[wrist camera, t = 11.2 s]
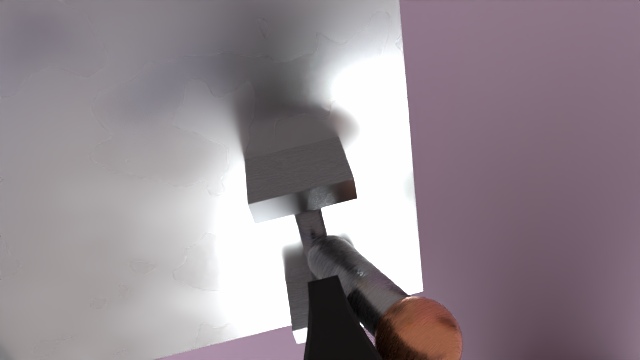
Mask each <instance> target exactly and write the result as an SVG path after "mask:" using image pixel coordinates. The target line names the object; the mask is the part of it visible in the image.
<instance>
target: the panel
mask: <svg viewBox="0 0 640 360" xmlns="http://www.w3.org/2000/svg"><path fill="white" fill-rule="evenodd" d="M320 208H321V210H322V215H323V219H324V223H325V227H326V231H327V235H336V236H339V237H342V238H343V239H345V240H346V241H347V242H348V243H350V244H351V245H352V246H353V247H354V248H355V249H357V250H358V251H359V252H360V253H361V254H362V255H363V256H365V257H366V258H367V259H368V260H369V261H370V262H372V263H373V264H374V265H375V266H376V267H377V268H378V269H380V270H381V271H382V272H383V273H384V274H385V275H386V276H388V277H389V278H390V279H391V280H392V281H393V282H395V283H396V284H397V285H398V286H399V287H400V288H401V289H403V290H404V291H405V292H406V293H407V294H408V295H410V294H414V293H418V292H422V291H423V286H422V274H421V262H420V250H419V237H418V225H417V213H416V201H415V189H414V177H413V164H412V152H411V140H410V128H409V116H408V104H407V91H406V79H405V67H404V55H403V43H402V31H401V18H400V6H399V0H0V360H154V359H158V358H162V357H166V356H170V355H174V354H178V353H182V352H186V351H190V350H194V349H198V348H201V347H205V346H209V345H213V344H217V343H221V342H225V341H229V340H233V339H237V338H241V337H245V336H249V335H253V334H256V333H260V332H264V331H268V330H272V329H276V328H280V327H284V326H288V325H292V331H293V334H294V337H295V340H296V343H297V344H299V343H303V342H306V338H307V326H308V310H309V296H308V284H307V282H311V281H313V280H312V277H311V273H310V270H309V266H308V263H307V259H306V255H305V252H304V248H303V245H302V241H301V238H300V234H299V231H298V227H297V224H296V220H295V217H294V215H296V214H300V213H304V212H308V211H312V210H316V209H320ZM360 324H361V323H360ZM361 326H362V327H364V326H363V325H362V324H361Z"/></svg>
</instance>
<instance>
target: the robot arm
mask: <svg viewBox="0 0 640 360" xmlns="http://www.w3.org/2000/svg"><path fill="white" fill-rule="evenodd" d="M307 284H308V296H309V310H308V326H307V338H306V346H305V353H304V360H383V359H382V358H381V356H380V355H379V353H378V351H377V350H376V348H375V347H374V345H373V344H372V342H371V341H370V339H369V338H368V336H367V334H366V333H365V331H364V329H363V328H362V326H361V324H360V322H359V321H358V319H357V317H356V315H355V313H354V312H353V310H352V308H351V306H350V304H349V302H348V299H347V297H346V295H345V293H344V290H343V288H342V285H341V282H340V279H339V276H338V275H335V276H331V277H327V278H323V279H319V280H315V281H311V282H307Z"/></svg>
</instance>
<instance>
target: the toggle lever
mask: <svg viewBox="0 0 640 360" xmlns="http://www.w3.org/2000/svg"><path fill="white" fill-rule="evenodd" d="M294 217H295V220H296V224H297V227H298V231H299V234H300V238H301V241H302V245H303V248H304V252H305V255H306V259H307V263H308V266H309V270H310V273H311V277H312V280H313V281H315V280H319V279H323V278H327V277H331V276H335V275H338V276H339V279H340V282H341V285H342V288H343V290H344V293H345V295H346V297H347V299H348V302H349V304H350V306H351V308H352V310H353V312H354V313H355V315H356V317H357V319H358V321H359V322H360V323H361V324H362V325H363V326H364V327H365V328H366V329H367V330H368V331H369V332H370V333H371V335H372V336H373V337H374V338H375V339H374V341H375V348H376V350H377V351H378V353H379V355H380V356H381V358H382V359H383V360H460V359H461V355H462V350H463V341H462V334H461V331H460V328H459V325H458V323H457V321H456V320H455V318H454V316H453V315H452V314H451V313H450V312H449V311H448V310H447V309H446V308H445V307H444V306H443V305H441V304H440V303H438V302H436V301H434V300H432V299H429V298H425V297H411V296H410V295H408V294H407V293H406V292H405V291H404V290H403V289H401V288H400V287H399V286H398V285H397V284H396V283H395V282H393V281H392V280H391V279H390V278H389V277H388V276H386V275H385V274H384V273H383V272H382V271H381V270H380V269H378V268H377V267H376V266H375V265H374V264H373V263H372V262H370V261H369V260H368V259H367V258H366V257H365V256H363V255H362V254H361V253H360V252H359V251H358V250H357V249H355V248H354V247H353V246H352V245H351V244H350V243H348V242H347V241H346V240H345V239H343V238H342V237H339V236H336V235H327V231H326V227H325V223H324V219H323V215H322V210H321V208H320V209H316V210H312V211H308V212H304V213H300V214H296V215H294Z"/></svg>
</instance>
